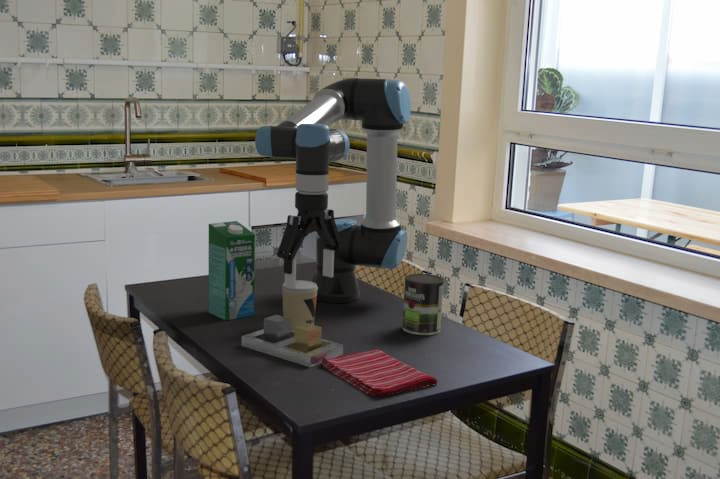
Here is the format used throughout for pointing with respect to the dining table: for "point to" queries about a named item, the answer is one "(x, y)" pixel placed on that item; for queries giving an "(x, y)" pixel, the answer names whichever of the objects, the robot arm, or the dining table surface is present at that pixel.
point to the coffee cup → (300, 303)
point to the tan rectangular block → (307, 338)
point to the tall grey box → (276, 328)
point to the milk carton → (231, 270)
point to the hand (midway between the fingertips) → (309, 281)
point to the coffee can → (422, 304)
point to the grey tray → (292, 349)
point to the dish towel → (377, 373)
